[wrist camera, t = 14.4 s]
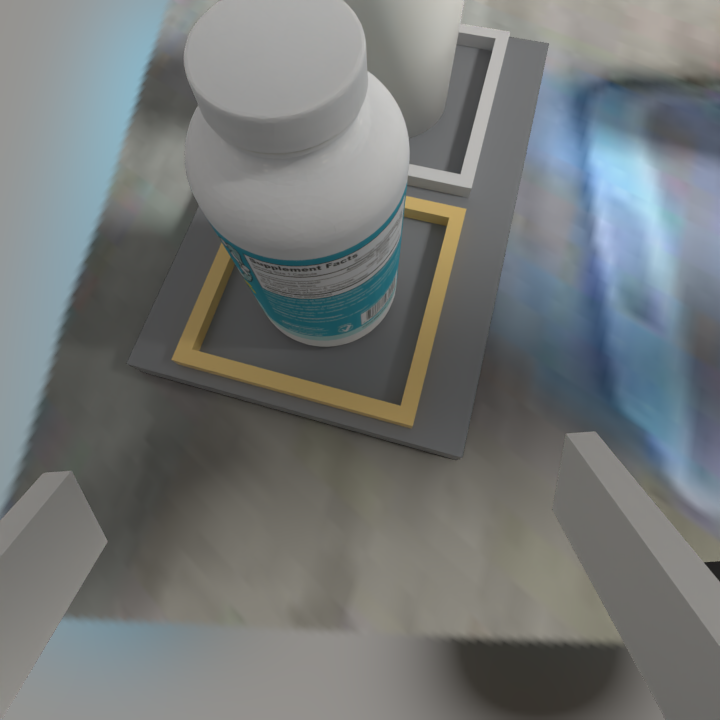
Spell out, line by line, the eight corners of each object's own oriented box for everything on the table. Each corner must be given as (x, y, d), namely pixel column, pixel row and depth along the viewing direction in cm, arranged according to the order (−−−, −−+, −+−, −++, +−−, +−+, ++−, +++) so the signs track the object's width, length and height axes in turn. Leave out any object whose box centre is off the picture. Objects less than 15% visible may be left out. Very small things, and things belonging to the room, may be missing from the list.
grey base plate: (540, 65, 30) (553, 31, 28) (456, 459, 22) (465, 456, 20) (297, 22, 32) (291, -13, 30) (140, 371, 24) (117, 359, 22)
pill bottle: (271, 227, 25) (162, -59, 12) (399, 233, 25) (426, -56, 12) (251, 348, 23) (93, 155, 10) (392, 357, 22) (416, 168, 9)
